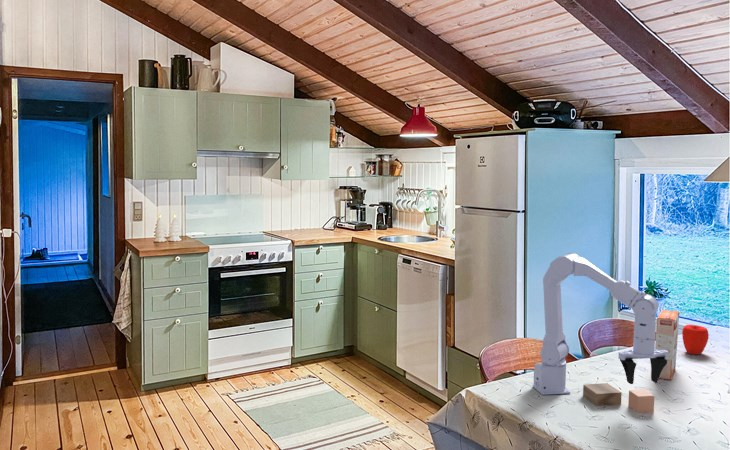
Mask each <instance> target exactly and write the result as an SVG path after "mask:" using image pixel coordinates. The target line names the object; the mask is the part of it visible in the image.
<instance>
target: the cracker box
mask: <svg viewBox="0 0 730 450" xmlns="http://www.w3.org/2000/svg"><path fill="white" fill-rule="evenodd" d="M679 319H680V312H679V311H677V310H667V309H662V310H661V311H660V312H659V314H658V316H657V317H656V330H655V350H666V351H668V352H669V353H668V358H665V359H666V360H667V364H666V365H665V367H664V368H663V370H662V372H661V374H660V376H659V379H663V380H667V381H671V380H672V378H673V376H674V373H675V371H676V363H677V352H678V351H677V350H678V337H679V336H678V335H679V323H680V322H679V321H680V320H679Z"/></svg>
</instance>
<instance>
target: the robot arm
mask: <svg viewBox="0 0 730 450" xmlns="http://www.w3.org/2000/svg"><path fill="white" fill-rule="evenodd" d="M571 275H573V276H574V277H587V278H588V279H590V280H592V281H594V282H595V283H597V284H598V285H600V286H602V287H604V288H606V289H607V290H609V292H610V296H611V297H613V298H614V299H615V300H617V301H618V302H620V303H621V304H623V305H624V306H625V307H627V308H629V309H632V312H633V313H634V321H633V322H634V323H633V342H632V343H633V345H632V349H630V350H629V349H628V350H624V351H618V359H619V361H620V362H621V365H622V368H623V370H624V373H625V377H626V381H627V383H628V384H630V385H634V381H635V371H636V368H637V363H636V362H634V360H641V359H650V360H649V361H650V370H651V371H650V380H651V381H652V382H653V383H655V384H658V382H659V379H660V378H659V376H660V374H661V372H662V370H663V368H664V367H665V365H666V364H667V360H666V359H665V358H668V353H669V352H668V351H666V350H655V343H656V326H657V317H656V315H657V313H656V312H657V311H658V308H659V302H658V300H657V299H656V298H655V297H654V296H653V294H646V292H645V291H640V290H639V289H637V288H635V287H634V286H633V285H631V283H632V282H630V281H629V280H626V281H625V280H621V279H620V280H615V279H614V278H612V277H611V276H610V275H608V274H607V273H606V272H604V271H602V270H601V269H600V268H598V267H596V265H594V264H592V263H591V262H590V261H588V260H587V259H586V258H584V257H581V256H579V254H577V253H573V252H568V253H566V254H564V255H562V256H558V257H556V258H555V259H554V260H552V261H551V262H550V263H549V266H548V269H547V270H546V272H545V274H544V275H543V278H542V285H543V304H544V326H545V334H544V337H543V340H542V346H541V350H540V351H539V354H540V358H541V360H542V361H541V362H539V363H535V364H534V368H533V384H532V388H534V389H535V390H536V391H538V392H539V394H541V395H543V396H544V395H563V394H565V395H566V394H571V393H572V392H571V391H570V389H568V388H566V383H567V382H566V380H567V375H566V374H567V360H566V357H567V356H568V354H569V352H570V347H569V345H568V343H567V339H566V335H565V334H564V332H563V331H564V330H563V328H564V327H563V311H562V290H561V289H562V288H561V284H562V282H563V281H565V280H566V279H567V278H568V277H569V276H571Z"/></svg>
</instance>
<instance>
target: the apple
mask: <svg viewBox="0 0 730 450" xmlns="http://www.w3.org/2000/svg"><path fill="white" fill-rule="evenodd" d="M681 333H682V334H681V335H682V342H683V346H684V349H685V351H686V353H688V354H691V355H695V354H698V355H700V354H703V352H704V350H705V348H706V346H707V344H708V341H709V338H710V337H709V336H710V335H709V331H708V329H707V328H706V327H704V326H701V325H697V324H696V325H695V324H686V325H684V326H683V327H682V330H681Z"/></svg>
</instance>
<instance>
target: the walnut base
mask: <svg viewBox="0 0 730 450" xmlns="http://www.w3.org/2000/svg"><path fill="white" fill-rule="evenodd" d="M582 386H583V388H582V397H584V399H586V400H587V401H589V402H590V403H591V404H593V405H594V406H595V407H599V406H602V407H603V406H618V405H622V392H621V391H620V390H618V389H617V388H615V387H614V386H612V385H611V384H610V383H587V384H586V383H585V384H583V385H582Z"/></svg>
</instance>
